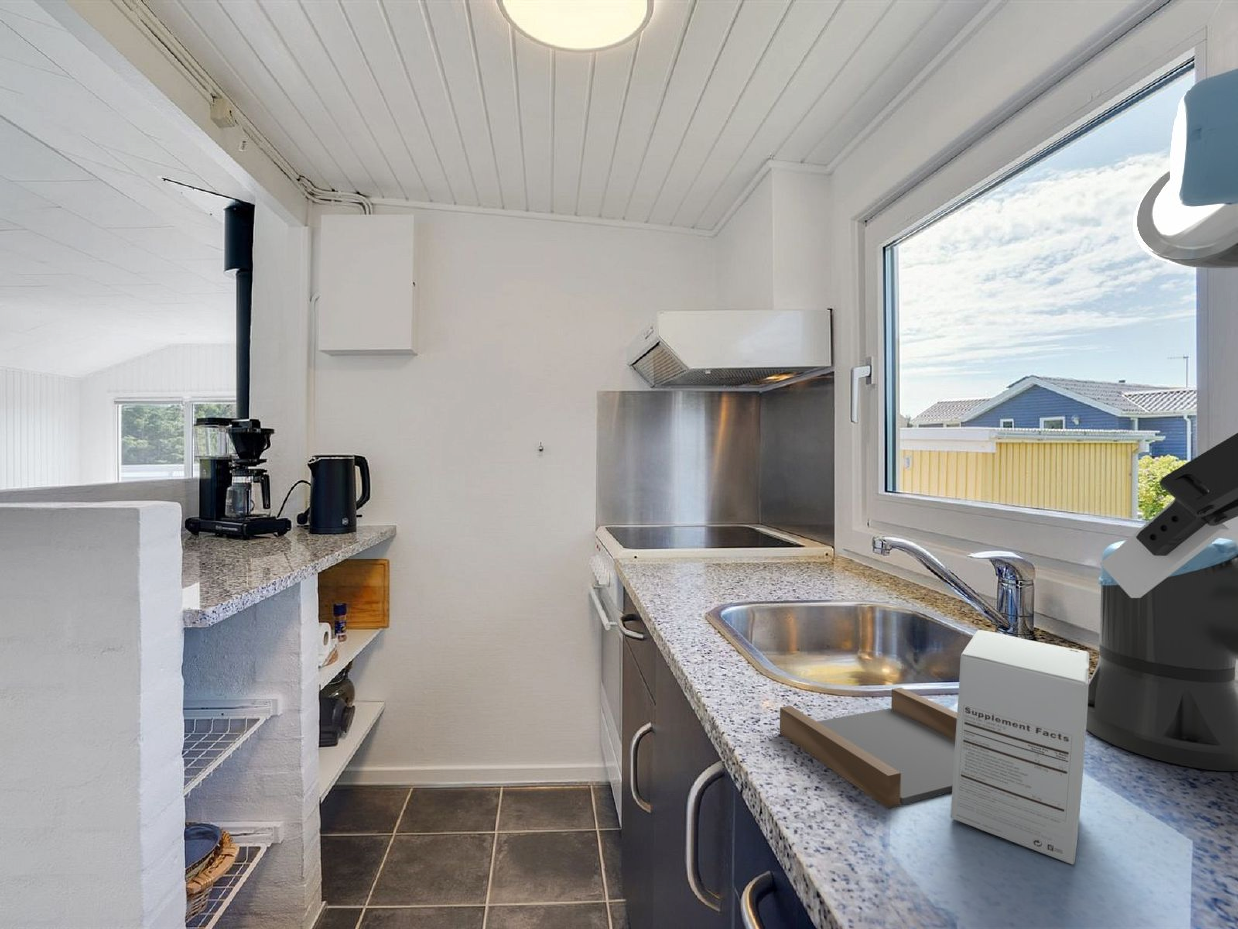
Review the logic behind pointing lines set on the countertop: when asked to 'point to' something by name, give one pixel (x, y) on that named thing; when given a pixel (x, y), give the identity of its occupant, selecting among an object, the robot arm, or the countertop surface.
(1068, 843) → the supplement box
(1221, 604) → the robot arm
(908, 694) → the rails
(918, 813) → the countertop surface
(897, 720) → the mat
